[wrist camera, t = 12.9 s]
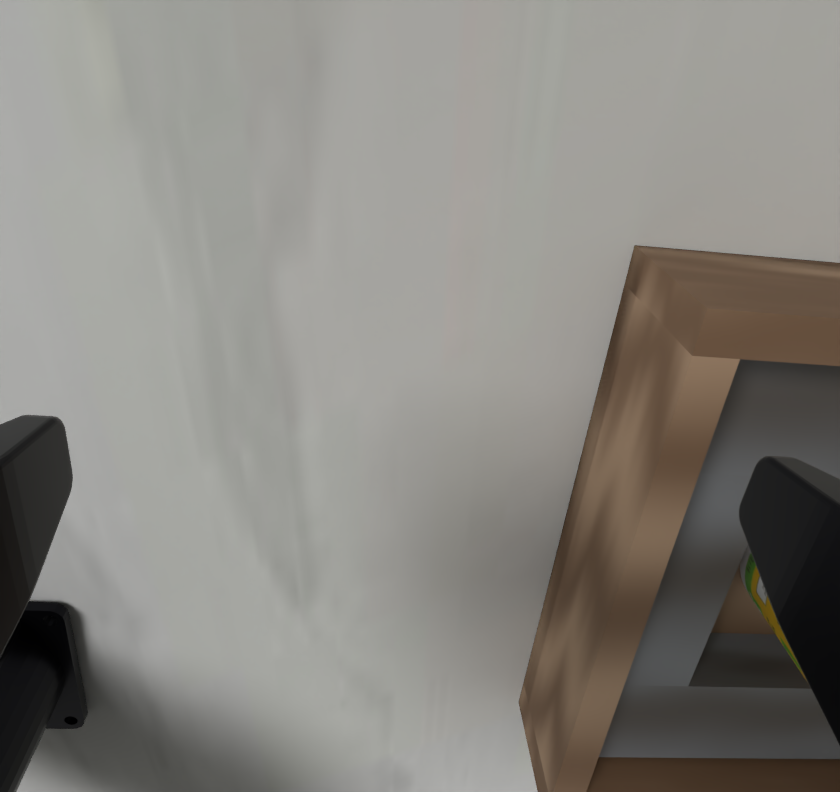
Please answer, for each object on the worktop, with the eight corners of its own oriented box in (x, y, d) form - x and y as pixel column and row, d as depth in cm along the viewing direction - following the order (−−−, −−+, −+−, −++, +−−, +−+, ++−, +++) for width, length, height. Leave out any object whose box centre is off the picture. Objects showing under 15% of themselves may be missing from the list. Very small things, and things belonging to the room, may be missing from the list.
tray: (906, 708, 31) (992, 820, 27) (518, 702, 30) (544, 820, 25) (1178, 292, 22) (1378, 360, 18) (634, 245, 20) (707, 308, 16)
